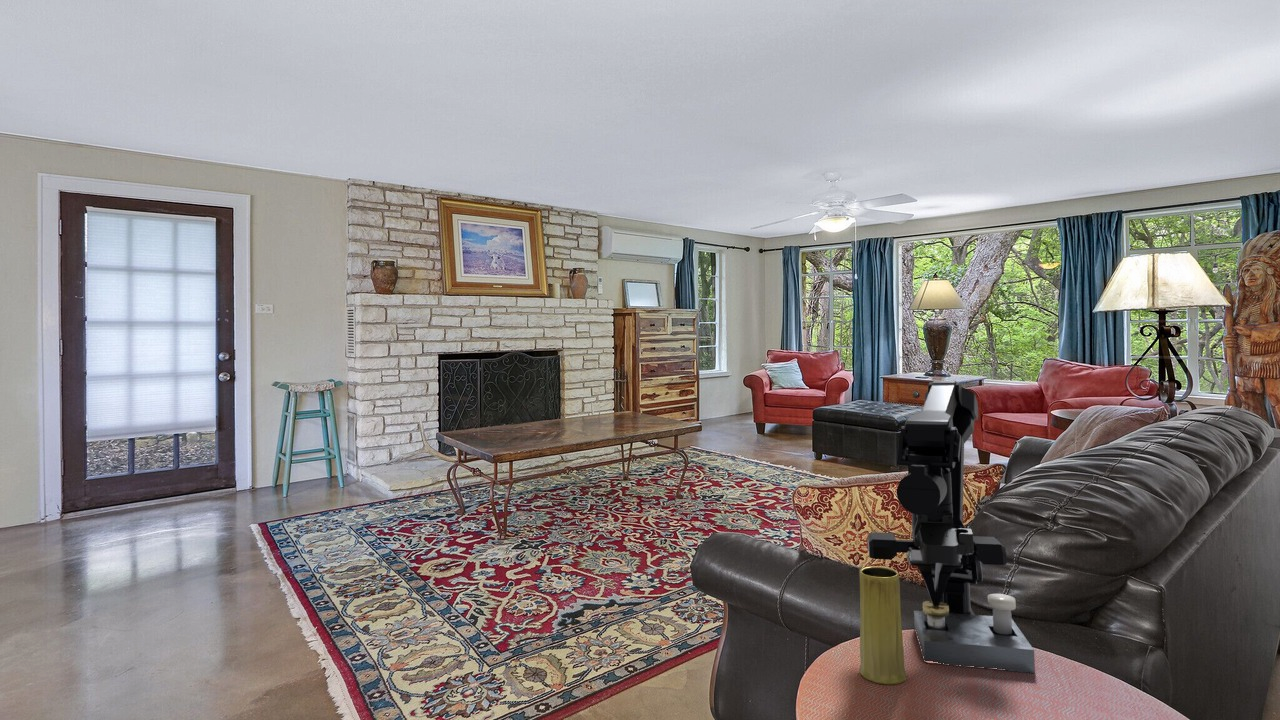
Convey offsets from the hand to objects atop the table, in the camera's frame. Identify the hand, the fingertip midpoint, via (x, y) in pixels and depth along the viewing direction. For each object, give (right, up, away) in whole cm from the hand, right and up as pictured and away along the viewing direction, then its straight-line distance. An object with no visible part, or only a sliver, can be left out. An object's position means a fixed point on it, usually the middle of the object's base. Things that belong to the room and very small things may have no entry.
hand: (935, 604), depth 98 cm
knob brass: (0, -5, 0) cm, 5 cm away
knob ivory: (+9, -3, -3) cm, 10 cm away
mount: (+4, -6, -1) cm, 8 cm away
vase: (-11, -7, -8) cm, 15 cm away
